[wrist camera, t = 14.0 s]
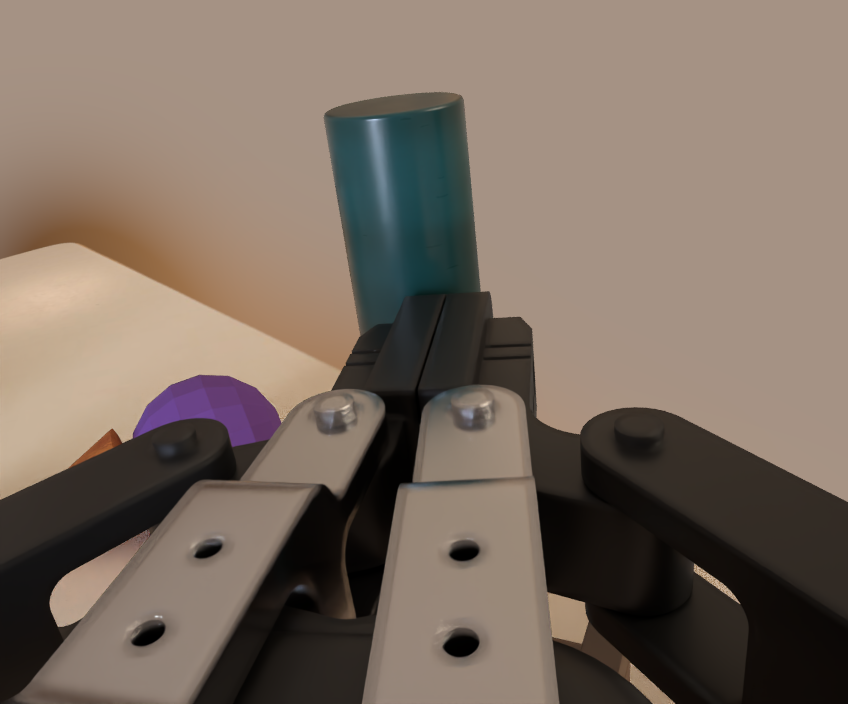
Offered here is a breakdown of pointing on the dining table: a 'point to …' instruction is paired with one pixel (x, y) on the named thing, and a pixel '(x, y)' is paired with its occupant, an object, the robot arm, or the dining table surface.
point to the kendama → (204, 411)
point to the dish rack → (412, 220)
